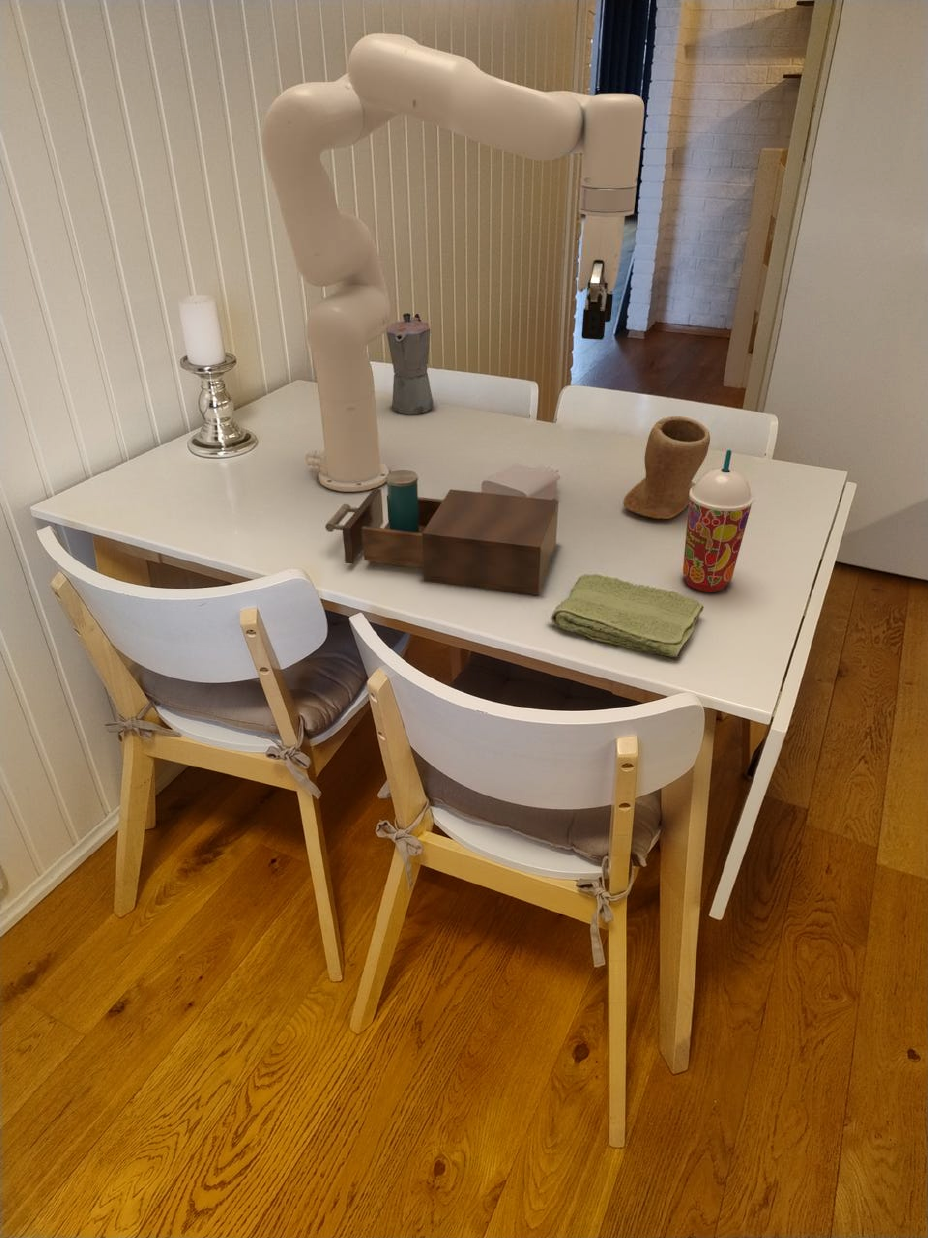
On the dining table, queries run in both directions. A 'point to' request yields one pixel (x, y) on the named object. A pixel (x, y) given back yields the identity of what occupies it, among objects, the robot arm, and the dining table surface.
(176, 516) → the dining table surface
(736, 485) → the smoothie
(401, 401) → the moka pot
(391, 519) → the tin
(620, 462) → the dining table surface
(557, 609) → the washcloth
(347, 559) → the drawer
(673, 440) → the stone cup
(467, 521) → the cabinet
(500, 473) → the open book
